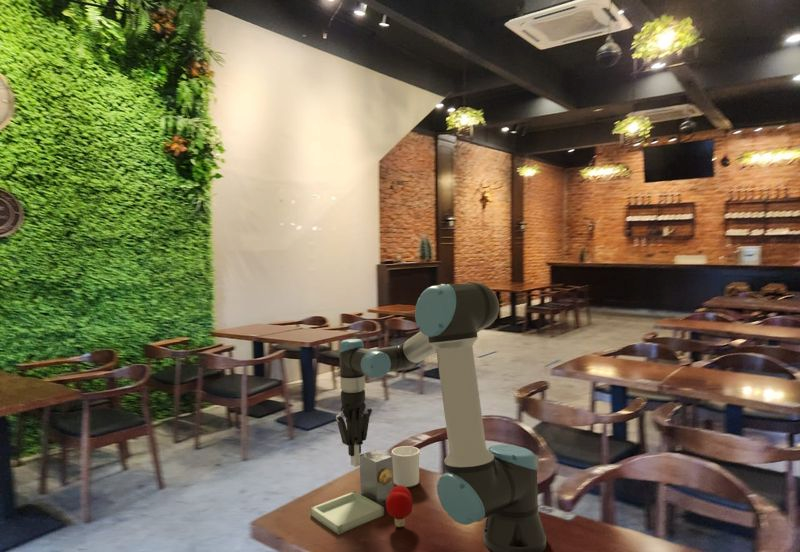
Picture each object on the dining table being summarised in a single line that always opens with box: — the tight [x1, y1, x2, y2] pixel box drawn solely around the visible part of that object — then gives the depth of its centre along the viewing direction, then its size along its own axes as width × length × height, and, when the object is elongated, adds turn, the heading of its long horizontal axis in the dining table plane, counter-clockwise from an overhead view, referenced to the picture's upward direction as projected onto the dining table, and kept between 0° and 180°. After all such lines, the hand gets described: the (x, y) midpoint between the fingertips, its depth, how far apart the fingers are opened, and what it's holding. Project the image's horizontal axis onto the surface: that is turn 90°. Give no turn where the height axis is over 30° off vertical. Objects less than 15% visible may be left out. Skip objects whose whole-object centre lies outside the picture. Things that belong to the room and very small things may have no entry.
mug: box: [391, 445, 421, 489], centre depth 164 cm, size 11×9×10 cm
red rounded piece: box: [385, 486, 414, 529], centre depth 135 cm, size 9×7×10 cm
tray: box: [310, 490, 385, 535], centre depth 143 cm, size 14×15×2 cm
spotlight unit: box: [358, 449, 394, 508], centre depth 152 cm, size 10×7×13 cm
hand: (355, 464), depth 159 cm, fingers closed
